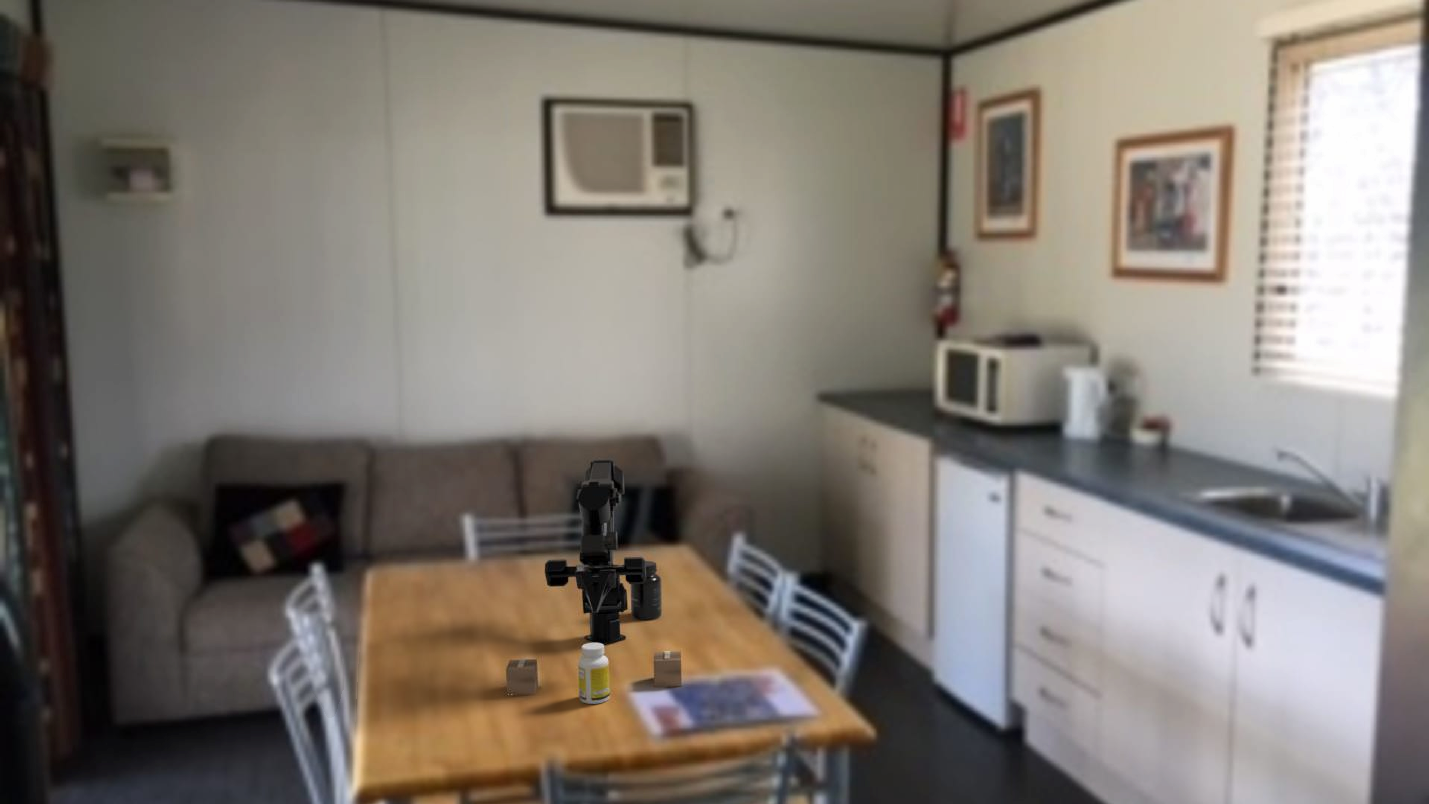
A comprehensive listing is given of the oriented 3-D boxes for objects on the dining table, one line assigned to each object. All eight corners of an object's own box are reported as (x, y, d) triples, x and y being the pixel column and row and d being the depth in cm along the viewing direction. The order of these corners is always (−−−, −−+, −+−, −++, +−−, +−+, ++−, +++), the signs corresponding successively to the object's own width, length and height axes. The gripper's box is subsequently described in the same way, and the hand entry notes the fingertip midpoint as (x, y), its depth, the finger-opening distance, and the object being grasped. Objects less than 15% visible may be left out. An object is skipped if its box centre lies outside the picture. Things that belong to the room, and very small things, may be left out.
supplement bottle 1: (614, 695, 207) (613, 642, 206) (602, 706, 202) (600, 652, 201) (587, 692, 208) (585, 640, 207) (574, 703, 203) (572, 649, 202)
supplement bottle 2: (625, 619, 253) (624, 565, 251) (639, 610, 259) (637, 558, 258) (654, 622, 250) (652, 568, 249) (667, 613, 256) (665, 560, 255)
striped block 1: (510, 686, 213) (509, 658, 212) (538, 685, 213) (536, 657, 212) (507, 696, 208) (505, 667, 207) (534, 694, 208) (533, 666, 208)
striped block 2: (654, 677, 216) (653, 650, 215) (681, 677, 216) (680, 649, 215) (654, 687, 211) (653, 659, 210) (681, 686, 211) (680, 658, 210)
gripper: (543, 517, 215) (539, 591, 205) (643, 515, 215) (644, 588, 206) (549, 549, 223) (545, 621, 214) (645, 546, 224) (646, 618, 214)
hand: (595, 611), depth 212 cm, fingers closed
